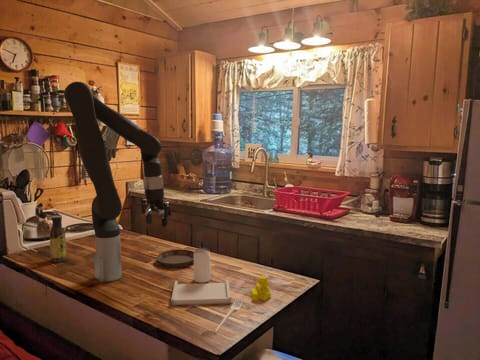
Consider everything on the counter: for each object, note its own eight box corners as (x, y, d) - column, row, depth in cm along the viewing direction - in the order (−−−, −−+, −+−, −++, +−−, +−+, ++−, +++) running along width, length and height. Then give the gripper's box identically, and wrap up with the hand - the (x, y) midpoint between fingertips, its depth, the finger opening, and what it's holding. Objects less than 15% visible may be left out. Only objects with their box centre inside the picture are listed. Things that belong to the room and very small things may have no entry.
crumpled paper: (247, 298, 134) (247, 276, 133) (260, 290, 141) (261, 270, 140) (260, 303, 131) (261, 281, 130) (274, 295, 137) (274, 274, 136)
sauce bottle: (64, 262, 168) (61, 218, 165) (48, 263, 167) (46, 218, 164) (68, 257, 174) (66, 214, 171) (53, 258, 173) (51, 215, 170)
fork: (210, 332, 113) (210, 326, 113) (235, 302, 131) (235, 297, 131) (220, 335, 112) (220, 329, 111) (244, 304, 130) (244, 298, 130)
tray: (175, 285, 144) (175, 280, 144) (228, 283, 146) (228, 279, 146) (171, 305, 128) (170, 300, 128) (230, 303, 130) (230, 298, 130)
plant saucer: (167, 272, 158) (167, 265, 157) (150, 260, 172) (150, 253, 171) (204, 264, 168) (204, 257, 168) (185, 253, 182) (185, 246, 182)
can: (203, 284, 145) (203, 254, 144) (190, 281, 149) (190, 251, 147) (213, 279, 151) (213, 249, 149) (200, 275, 154) (200, 246, 152)
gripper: (134, 187, 155) (138, 225, 158) (160, 190, 147) (163, 230, 151) (148, 183, 161) (151, 220, 164) (173, 186, 154) (176, 225, 157)
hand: (157, 225), depth 157 cm, fingers open, 8 cm apart
